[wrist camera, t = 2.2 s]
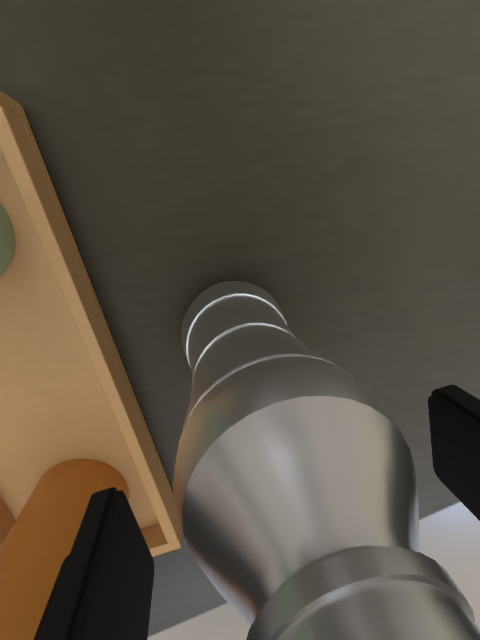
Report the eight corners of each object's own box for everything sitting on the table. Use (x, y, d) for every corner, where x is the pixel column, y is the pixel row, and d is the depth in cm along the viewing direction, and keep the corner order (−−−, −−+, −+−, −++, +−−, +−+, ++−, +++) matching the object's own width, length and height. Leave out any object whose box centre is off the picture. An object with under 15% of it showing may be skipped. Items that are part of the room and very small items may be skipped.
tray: (-208, 155, 17) (-282, 144, 14) (22, 104, 18) (-8, 84, 15) (38, 560, 26) (21, 599, 24) (182, 515, 27) (181, 548, 24)
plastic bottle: (188, 373, 24) (186, 1006, 5) (175, 278, 22) (78, 711, 3) (277, 361, 24) (590, 864, 5) (273, 268, 22) (750, 550, 3)
